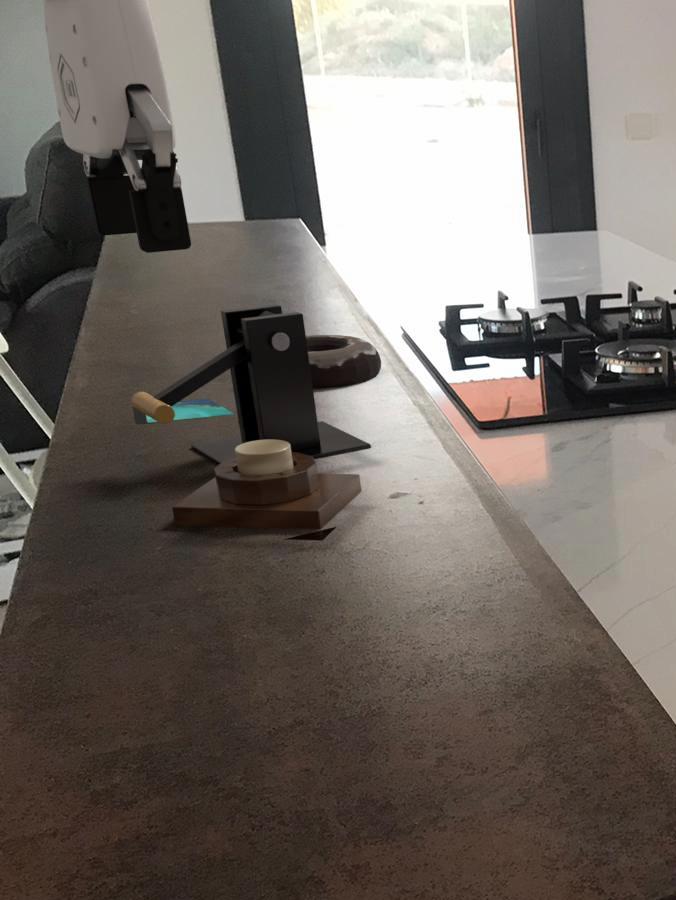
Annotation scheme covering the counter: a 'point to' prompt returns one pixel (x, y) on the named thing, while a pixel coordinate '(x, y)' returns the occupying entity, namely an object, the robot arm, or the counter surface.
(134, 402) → the switch lever
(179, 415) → the smartphone
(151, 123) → the robot arm
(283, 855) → the counter surface
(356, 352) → the donut
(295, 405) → the switch bracket
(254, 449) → the button
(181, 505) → the lamp base
